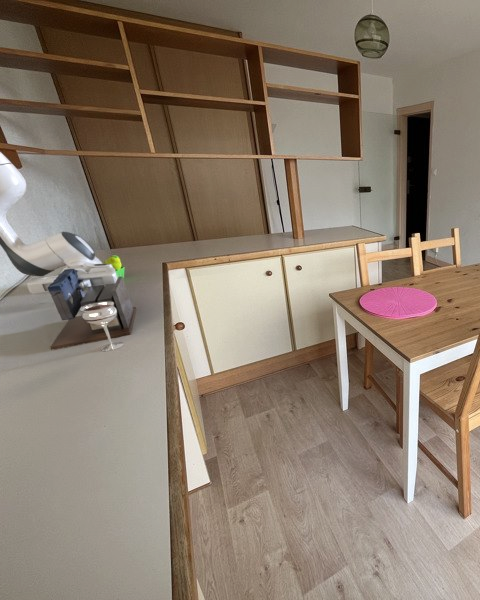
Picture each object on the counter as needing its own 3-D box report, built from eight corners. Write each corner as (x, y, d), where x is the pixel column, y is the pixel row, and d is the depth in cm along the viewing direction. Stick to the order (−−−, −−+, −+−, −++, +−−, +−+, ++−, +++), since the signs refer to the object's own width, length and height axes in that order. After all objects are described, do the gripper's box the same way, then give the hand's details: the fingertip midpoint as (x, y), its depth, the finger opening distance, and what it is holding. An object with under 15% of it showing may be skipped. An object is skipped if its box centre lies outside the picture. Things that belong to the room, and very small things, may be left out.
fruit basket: (108, 278, 140) (99, 253, 135) (132, 276, 142) (124, 252, 138) (94, 286, 130) (84, 259, 125) (120, 284, 132) (111, 258, 128)
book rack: (51, 350, 83) (31, 305, 78) (71, 320, 100) (55, 281, 95) (130, 334, 92) (116, 293, 87) (136, 309, 109) (125, 273, 104)
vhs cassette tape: (76, 299, 99) (64, 269, 95) (88, 297, 101) (77, 267, 97) (59, 321, 85) (44, 287, 81) (74, 319, 87) (60, 285, 83)
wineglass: (129, 346, 86) (115, 306, 81) (96, 355, 81) (79, 313, 77) (126, 338, 90) (113, 299, 86) (94, 346, 85) (78, 305, 81)
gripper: (31, 271, 97) (14, 284, 87) (117, 263, 108) (111, 273, 97) (39, 290, 99) (24, 305, 89) (122, 280, 110) (117, 292, 100)
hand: (70, 288), depth 93 cm, fingers closed on vhs cassette tape, 2 cm apart
